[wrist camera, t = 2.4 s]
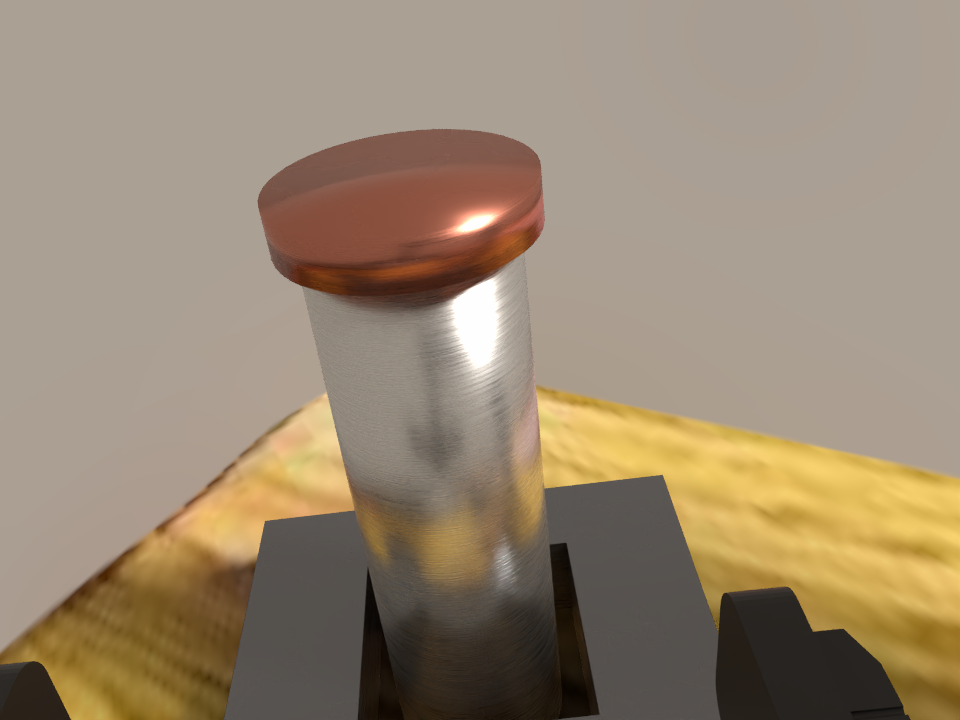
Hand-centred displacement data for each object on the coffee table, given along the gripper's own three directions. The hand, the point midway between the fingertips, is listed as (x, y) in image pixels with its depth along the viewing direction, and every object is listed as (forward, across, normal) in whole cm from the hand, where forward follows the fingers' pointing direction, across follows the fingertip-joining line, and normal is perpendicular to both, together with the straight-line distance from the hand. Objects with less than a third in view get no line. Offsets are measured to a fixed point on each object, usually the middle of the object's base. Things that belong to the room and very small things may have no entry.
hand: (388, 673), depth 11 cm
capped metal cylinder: (+12, 0, +15) cm, 19 cm away
